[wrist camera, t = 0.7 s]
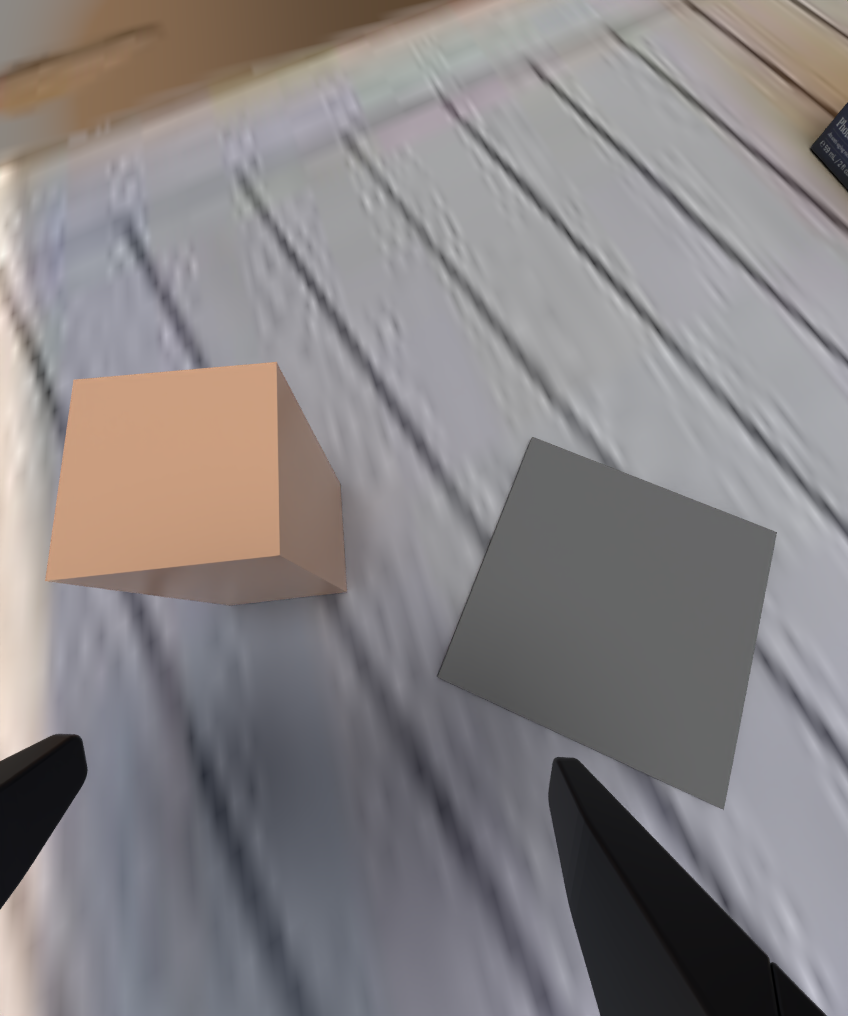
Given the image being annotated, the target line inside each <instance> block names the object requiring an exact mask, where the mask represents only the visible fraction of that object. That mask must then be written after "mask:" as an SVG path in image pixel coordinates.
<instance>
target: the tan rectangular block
mask: <svg viewBox="0 0 848 1016" xmlns="http://www.w3.org/2000/svg"><path fill="white" fill-rule="evenodd" d="M45 581H49V582H56V583H64V584H71V585H79V586H86V587H94V588H101V589H109V590H116V591H124V592H131V593H139V594H146V595H154V596H161V597H169V598H176V599H184V600H191V601H199V602H207V603H214V604H222V605H229V606H231V605H240V604H248V603H257V602H266V601H275V600H283V599H292V598H301V597H309V596H318V595H327V594H336V593H344V592H347V582H346V566H345V550H344V534H343V518H342V501H341V485H340V482H339V480H338V478H337V477H336V475H335V473H334V471H333V469H332V467H331V465H330V463H329V461H328V459H327V457H326V456H325V454H324V452H323V450H322V448H321V446H320V444H319V442H318V440H317V438H316V436H315V435H314V433H313V431H312V429H311V427H310V425H309V423H308V421H307V419H306V417H305V415H304V414H303V412H302V410H301V408H300V406H299V404H298V402H297V400H296V398H295V396H294V394H293V393H292V391H291V389H290V387H289V385H288V383H287V381H286V379H285V377H284V375H283V373H282V372H281V370H280V368H279V366H278V364H277V362H272V363H260V364H249V365H237V366H226V367H214V368H203V369H192V370H180V371H169V372H157V373H146V374H134V375H123V376H111V377H100V378H89V379H77V380H74V381H73V389H72V396H71V403H70V410H69V417H68V424H67V431H66V438H65V445H64V452H63V459H62V466H61V473H60V480H59V487H58V494H57V502H56V509H55V516H54V523H53V530H52V537H51V544H50V551H49V558H48V565H47V572H46V579H45Z"/></svg>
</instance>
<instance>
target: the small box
mask: <svg viewBox="0 0 848 1016" xmlns="http://www.w3.org/2000/svg"><path fill="white" fill-rule="evenodd" d="M811 149H812V150H813V151H814V152H815V153H816V154H817V155H818V157H819V158H820V159H821V160H822V161H823V162H824V163H825V165H826V166H827V167H828V168H829V169H830V170H831V171H832V172H833V173H834V175H835V176H836V177H837V178H838V179H839V180H840V181H841V182H842V183H843V184H844V186H845V187H846V188H847V189H848V102H847V104H846V105H845V106H844V107H843V109H842V110H841V111H840V112H839V113H838V115H837V116H836V117H835V118H834V120H833V121H832V122H831V123H830V124H829V126H828V127H827V128H826V129H825V130H824V132H823V133H822V134H821V135H820V137H819V138H818V139H817V140H816V141H815V143H814V144H813V145H812V146H811Z"/></svg>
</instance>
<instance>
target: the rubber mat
mask: <svg viewBox="0 0 848 1016" xmlns="http://www.w3.org/2000/svg"><path fill="white" fill-rule="evenodd" d="M776 534H777V532H775V531H772V530H770V529H767V528H765V527H762V526H759V525H757V524H754V523H752V522H749V521H747V520H744V519H742V518H739V517H736V516H734V515H731V514H729V513H726V512H724V511H721V510H718V509H716V508H713V507H711V506H708V505H706V504H703V503H701V502H698V501H695V500H693V499H690V498H688V497H685V496H683V495H680V494H678V493H675V492H672V491H670V490H667V489H665V488H662V487H660V486H657V485H654V484H652V483H649V482H647V481H644V480H642V479H639V478H637V477H634V476H631V475H629V474H626V473H624V472H621V471H619V470H616V469H614V468H611V467H608V466H606V465H603V464H601V463H598V462H596V461H593V460H591V459H588V458H585V457H583V456H580V455H578V454H575V453H573V452H570V451H567V450H565V449H562V448H560V447H557V446H555V445H552V444H550V443H547V442H544V441H542V440H539V439H537V438H534V437H532V439H531V441H530V443H529V446H528V448H527V451H526V453H525V456H524V458H523V461H522V463H521V466H520V468H519V471H518V474H517V476H516V479H515V481H514V484H513V486H512V489H511V491H510V494H509V496H508V499H507V501H506V504H505V506H504V509H503V512H502V514H501V517H500V519H499V522H498V524H497V527H496V529H495V532H494V534H493V537H492V539H491V542H490V545H489V547H488V550H487V552H486V555H485V557H484V560H483V562H482V565H481V567H480V570H479V572H478V575H477V577H476V580H475V583H474V585H473V588H472V590H471V593H470V595H469V598H468V600H467V603H466V605H465V608H464V610H463V613H462V615H461V618H460V621H459V623H458V626H457V628H456V631H455V633H454V636H453V638H452V641H451V643H450V646H449V648H448V651H447V654H446V656H445V659H444V661H443V664H442V666H441V669H440V671H439V674H438V676H437V677H438V678H440V679H442V680H444V681H446V682H449V683H451V684H453V685H455V686H457V687H459V688H461V689H464V690H466V691H468V692H470V693H472V694H474V695H477V696H479V697H481V698H483V699H485V700H487V701H490V702H492V703H494V704H496V705H498V706H500V707H503V708H505V709H507V710H509V711H511V712H513V713H515V714H518V715H520V716H522V717H524V718H526V719H528V720H531V721H533V722H535V723H537V724H539V725H541V726H544V727H546V728H548V729H550V730H552V731H554V732H557V733H559V734H561V735H563V736H565V737H567V738H570V739H572V740H574V741H576V742H578V743H580V744H582V745H585V746H587V747H589V748H591V749H593V750H595V751H598V752H600V753H602V754H604V755H606V756H608V757H611V758H613V759H615V760H617V761H619V762H621V763H624V764H626V765H628V766H630V767H632V768H634V769H636V770H639V771H641V772H643V773H645V774H647V775H649V776H652V777H654V778H656V779H658V780H660V781H662V782H665V783H667V784H669V785H671V786H673V787H675V788H678V789H680V790H682V791H684V792H686V793H688V794H691V795H693V796H695V797H697V798H699V799H701V800H703V801H706V802H708V803H710V804H712V805H714V806H716V807H719V808H721V809H723V810H724V806H725V801H726V795H727V790H728V785H729V780H730V774H731V769H732V764H733V759H734V754H735V748H736V743H737V738H738V733H739V727H740V722H741V717H742V712H743V706H744V701H745V696H746V691H747V686H748V680H749V675H750V670H751V665H752V659H753V654H754V649H755V644H756V639H757V633H758V628H759V623H760V618H761V612H762V607H763V602H764V597H765V591H766V586H767V581H768V576H769V571H770V565H771V560H772V555H773V550H774V544H775V539H776Z"/></svg>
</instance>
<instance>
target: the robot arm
mask: <svg viewBox="0 0 848 1016" xmlns="http://www.w3.org/2000/svg"><path fill="white" fill-rule="evenodd" d="M87 770H88V769H87V763H86V757H85V752H84V746H83V741H82V739H81V737H80V736H79V735H75V734H55V735H52V736H50V737H48V738H46V739H44V740H42V741H40V742H38V743H36V744H34V745H32V746H30V747H28V748H26V749H24V750H22V751H20V752H18V753H16V754H14V755H12V756H10V757H8V758H6V759H4V760H2V761H0V909H1V908H2V906H3V905H4V904H5V902H6V901H7V900H8V898H9V897H10V896H11V894H12V893H13V891H14V890H15V889H16V887H17V886H18V884H19V883H20V882H21V880H22V879H23V877H24V876H25V874H26V873H27V871H28V870H29V868H30V867H31V865H32V864H33V862H34V861H35V859H36V857H37V856H38V854H39V853H40V851H41V850H42V848H43V846H44V845H45V843H46V842H47V840H48V839H49V837H50V836H51V834H52V832H53V831H54V829H55V828H56V826H57V825H58V823H59V821H60V820H61V818H62V817H63V815H64V814H65V812H66V810H67V809H68V807H69V806H70V804H71V803H72V801H73V799H74V798H75V796H76V795H77V793H78V792H79V790H80V789H81V787H82V785H83V783H84V781H85V779H86V776H87ZM548 798H549V807H550V812H551V817H552V822H553V827H554V833H555V838H556V843H557V848H558V853H559V858H560V863H561V868H562V873H563V878H564V883H565V889H566V893H567V898H568V903H569V907H570V911H571V915H572V918H573V922H574V926H575V929H576V933H577V936H578V940H579V943H580V946H581V950H582V953H583V957H584V960H585V964H586V967H587V971H588V974H589V978H590V981H591V985H592V988H593V991H594V995H595V998H596V1002H597V1005H598V1009H599V1012H600V1016H827V1015H826V1014H825V1013H824V1012H823V1011H822V1010H821V1009H820V1008H819V1007H818V1006H817V1005H816V1004H815V1003H814V1002H813V1001H812V1000H811V999H810V998H809V997H808V996H807V995H806V994H805V993H804V992H803V991H802V990H801V989H800V988H799V987H798V986H797V985H796V984H795V983H794V982H793V981H792V980H791V979H790V978H789V977H788V976H787V975H786V974H785V973H784V972H783V970H782V969H781V968H780V967H779V966H778V965H777V964H775V963H773V962H772V963H770V959H769V957H768V955H767V954H766V953H765V952H764V951H763V950H762V949H761V948H760V947H759V946H758V945H757V944H756V943H755V942H754V941H753V940H752V939H751V938H750V937H749V936H748V935H747V934H746V933H745V932H744V931H743V929H742V928H741V927H740V926H739V925H738V924H737V923H736V922H735V921H734V920H733V919H732V918H731V917H730V916H729V915H728V914H727V913H726V912H725V911H724V910H723V909H722V908H721V907H720V906H719V905H718V904H717V903H716V902H715V901H714V900H713V899H712V897H711V896H710V895H709V894H708V893H707V892H706V891H705V890H704V889H703V888H702V887H701V886H700V885H699V884H698V883H697V882H696V881H695V880H694V879H693V878H692V877H691V876H690V875H689V874H688V873H687V872H686V871H685V870H684V869H683V868H682V867H681V865H680V864H679V863H678V862H677V861H676V860H675V859H674V858H673V857H672V856H671V855H670V854H669V853H668V852H667V851H666V850H665V849H664V848H663V847H662V846H661V845H660V844H659V843H658V842H657V841H656V840H655V839H654V838H653V837H652V836H651V835H650V833H649V832H648V831H647V830H646V829H645V828H644V827H643V826H642V825H641V824H640V823H639V822H638V821H637V820H636V819H635V818H634V817H633V816H632V815H631V814H630V813H629V812H628V811H627V810H626V809H625V808H624V807H623V806H622V805H621V804H620V803H619V801H618V800H617V799H616V798H615V797H614V796H613V795H612V794H611V793H610V792H609V791H608V790H607V789H606V788H605V787H604V786H603V785H602V784H601V783H600V782H599V781H598V780H597V779H596V778H595V777H594V776H593V775H592V774H591V773H590V772H589V771H588V769H587V768H586V767H585V766H584V765H583V764H582V763H581V762H580V761H579V760H577V759H575V758H566V757H557V758H555V759H554V761H553V764H552V771H551V777H550V784H549V792H548Z"/></svg>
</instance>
